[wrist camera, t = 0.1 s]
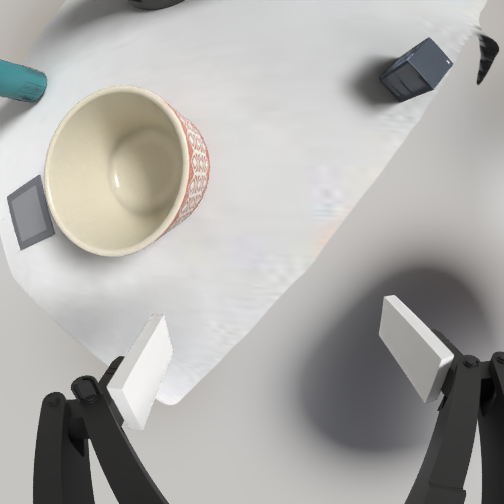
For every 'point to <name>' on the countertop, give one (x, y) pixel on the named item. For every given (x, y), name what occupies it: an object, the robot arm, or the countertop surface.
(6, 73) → the beverage bottle
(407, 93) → the box
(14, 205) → the slate mat
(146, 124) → the planter
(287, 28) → the countertop surface
